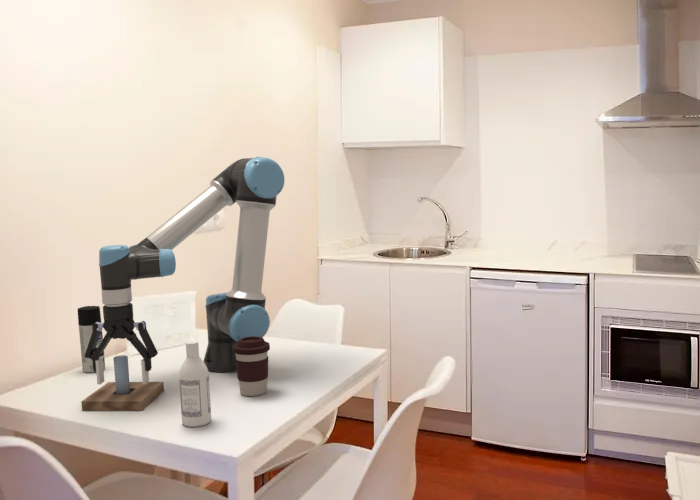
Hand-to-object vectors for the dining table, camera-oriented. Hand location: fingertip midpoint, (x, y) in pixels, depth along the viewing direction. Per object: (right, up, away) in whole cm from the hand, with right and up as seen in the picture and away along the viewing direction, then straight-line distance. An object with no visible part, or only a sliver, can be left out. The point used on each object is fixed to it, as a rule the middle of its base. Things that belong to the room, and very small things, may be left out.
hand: (123, 382), depth 182 cm
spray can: (-19, -2, +30) cm, 36 cm away
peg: (0, -5, 0) cm, 5 cm away
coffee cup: (+35, -4, +3) cm, 35 cm away
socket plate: (0, -5, +1) cm, 5 cm away
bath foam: (+24, -6, -17) cm, 30 cm away
